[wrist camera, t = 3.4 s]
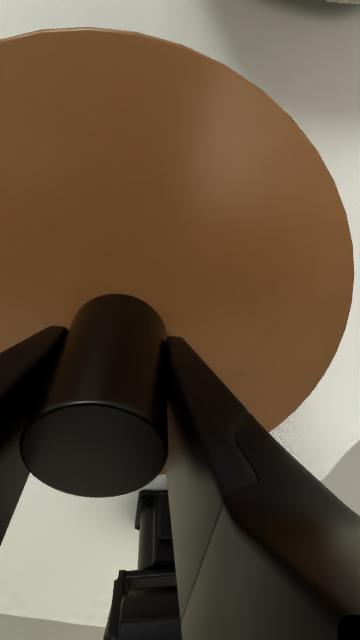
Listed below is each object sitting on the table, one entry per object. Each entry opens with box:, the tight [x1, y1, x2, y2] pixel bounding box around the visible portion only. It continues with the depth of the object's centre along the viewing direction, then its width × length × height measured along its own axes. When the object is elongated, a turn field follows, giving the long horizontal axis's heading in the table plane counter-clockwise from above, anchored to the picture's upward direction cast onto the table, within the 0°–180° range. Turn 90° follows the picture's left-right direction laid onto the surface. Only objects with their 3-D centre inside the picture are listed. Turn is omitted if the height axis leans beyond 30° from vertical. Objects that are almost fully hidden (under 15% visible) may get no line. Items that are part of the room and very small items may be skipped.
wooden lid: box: [0, 27, 354, 498], centre depth 8 cm, size 13×13×5 cm
